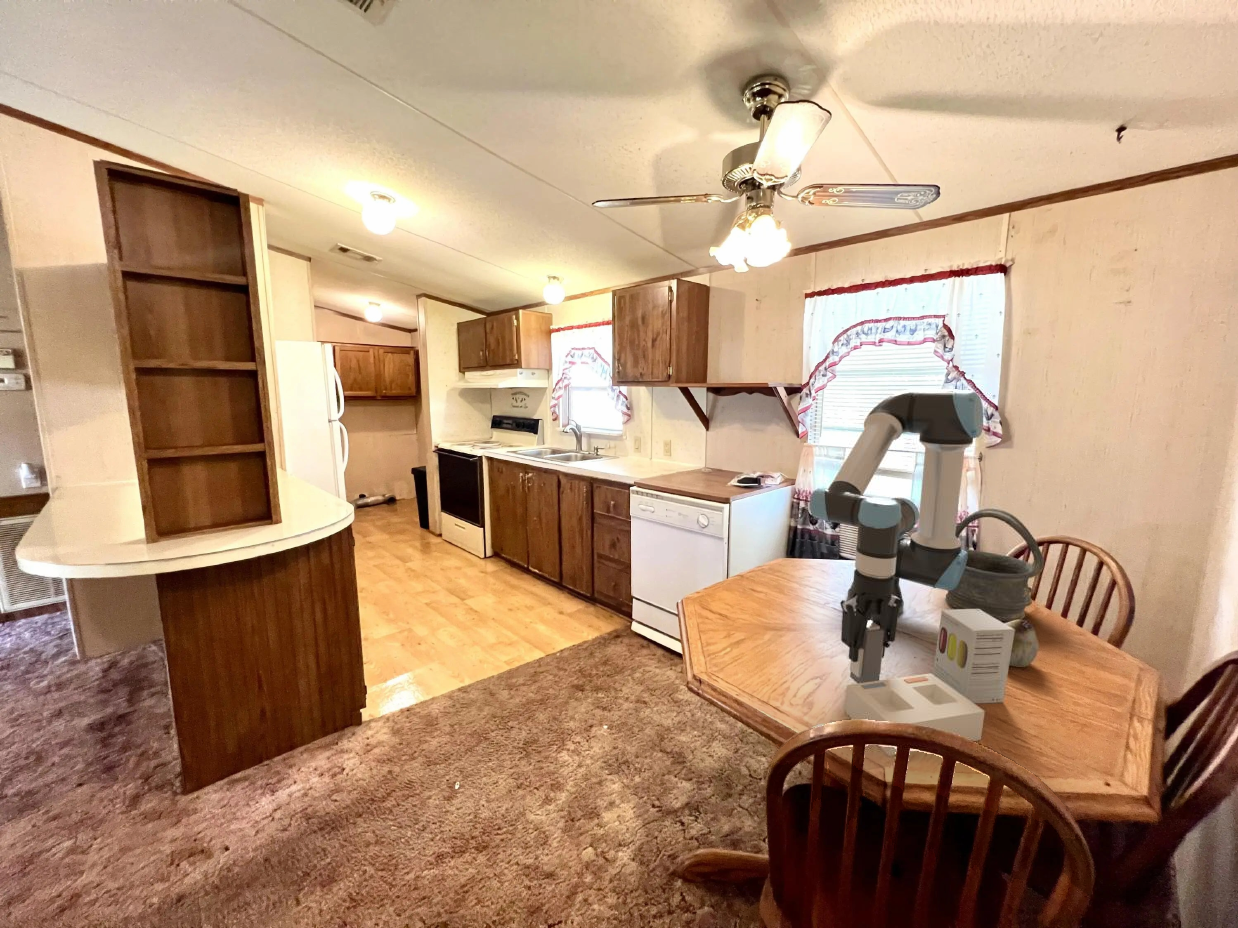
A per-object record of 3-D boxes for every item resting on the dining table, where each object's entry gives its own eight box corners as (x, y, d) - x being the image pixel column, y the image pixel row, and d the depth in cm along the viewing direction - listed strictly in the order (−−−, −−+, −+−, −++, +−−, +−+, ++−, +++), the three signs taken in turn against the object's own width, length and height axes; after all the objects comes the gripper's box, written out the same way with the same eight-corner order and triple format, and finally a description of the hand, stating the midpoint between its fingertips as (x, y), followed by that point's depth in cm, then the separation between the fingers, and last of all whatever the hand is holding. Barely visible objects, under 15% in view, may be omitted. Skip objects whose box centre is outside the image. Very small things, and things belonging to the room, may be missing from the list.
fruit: (1021, 677, 109) (1029, 629, 107) (975, 657, 117) (981, 611, 115) (1043, 666, 114) (1050, 619, 112) (997, 646, 122) (1003, 602, 120)
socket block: (926, 698, 102) (929, 671, 101) (980, 739, 90) (984, 710, 89) (843, 710, 98) (846, 683, 96) (888, 755, 86) (892, 725, 85)
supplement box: (930, 677, 109) (939, 608, 106) (968, 675, 110) (978, 607, 107) (964, 705, 99) (974, 630, 97) (1005, 703, 100) (1016, 628, 97)
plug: (865, 674, 107) (870, 618, 105) (878, 685, 103) (884, 627, 101) (850, 676, 106) (855, 620, 104) (862, 687, 103) (867, 629, 100)
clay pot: (968, 586, 158) (980, 498, 153) (1051, 618, 137) (1068, 517, 132) (920, 596, 151) (931, 504, 146) (1001, 632, 129) (1016, 525, 124)
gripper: (895, 561, 106) (885, 657, 110) (827, 568, 102) (819, 667, 106) (923, 574, 99) (911, 677, 103) (850, 582, 95) (841, 688, 99)
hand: (864, 671), depth 105 cm, fingers closed on plug, 4 cm apart
